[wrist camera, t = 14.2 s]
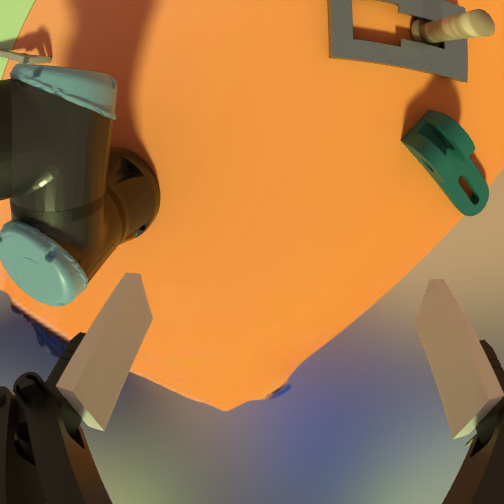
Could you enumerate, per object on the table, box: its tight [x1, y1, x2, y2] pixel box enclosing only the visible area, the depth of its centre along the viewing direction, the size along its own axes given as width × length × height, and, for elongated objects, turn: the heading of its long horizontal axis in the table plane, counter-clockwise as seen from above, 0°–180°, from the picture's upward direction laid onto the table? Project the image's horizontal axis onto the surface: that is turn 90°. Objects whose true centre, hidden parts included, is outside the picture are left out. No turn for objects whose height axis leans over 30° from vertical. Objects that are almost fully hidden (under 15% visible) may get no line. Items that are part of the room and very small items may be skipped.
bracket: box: [401, 110, 489, 216], centre depth 35 cm, size 18×7×8 cm, turn 53°
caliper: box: [0, 50, 51, 64], centre depth 30 cm, size 20×1×6 cm, turn 67°
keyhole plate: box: [327, 0, 468, 82], centre depth 28 cm, size 20×12×2 cm, turn 91°
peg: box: [410, 9, 495, 47], centre depth 22 cm, size 5×5×15 cm
